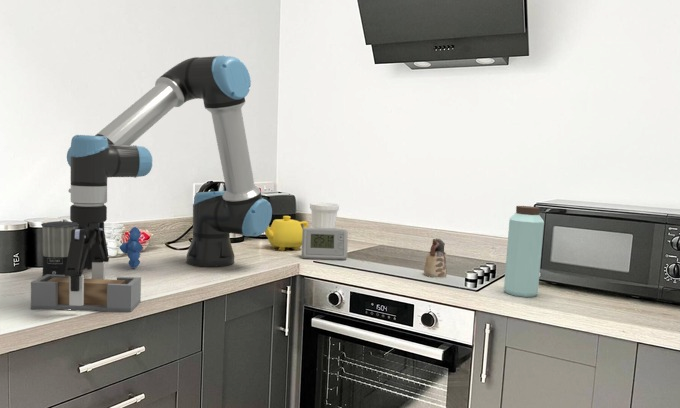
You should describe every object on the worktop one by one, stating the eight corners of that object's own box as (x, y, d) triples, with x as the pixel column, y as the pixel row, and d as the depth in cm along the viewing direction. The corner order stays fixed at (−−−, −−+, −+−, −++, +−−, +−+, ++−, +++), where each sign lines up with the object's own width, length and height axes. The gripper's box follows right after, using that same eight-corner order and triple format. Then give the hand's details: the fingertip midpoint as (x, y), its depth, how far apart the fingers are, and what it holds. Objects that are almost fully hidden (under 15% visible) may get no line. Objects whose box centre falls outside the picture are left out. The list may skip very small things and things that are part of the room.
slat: (124, 301, 132) (125, 280, 131) (119, 305, 128) (119, 284, 127) (54, 298, 131) (54, 277, 130) (46, 303, 127) (46, 281, 126)
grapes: (119, 263, 175) (120, 224, 174) (143, 262, 177) (143, 224, 176) (117, 271, 164) (118, 230, 163) (142, 271, 166) (143, 230, 165)
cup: (326, 243, 230) (328, 206, 229) (302, 239, 237) (303, 203, 236) (343, 240, 241) (345, 204, 239) (319, 236, 247) (320, 202, 246)
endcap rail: (140, 302, 134) (140, 277, 134) (130, 311, 126) (131, 285, 126) (46, 299, 132) (46, 274, 132) (30, 309, 124) (30, 282, 124)
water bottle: (497, 288, 168) (504, 204, 165) (529, 289, 168) (537, 206, 166) (510, 297, 158) (517, 208, 155) (544, 298, 158) (552, 209, 156)
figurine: (450, 276, 181) (453, 239, 180) (437, 279, 176) (440, 240, 175) (432, 272, 186) (435, 236, 185) (419, 274, 181) (421, 237, 180)
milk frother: (39, 281, 148) (39, 225, 147) (44, 268, 163) (44, 217, 161) (98, 279, 154) (98, 225, 152) (98, 267, 168) (99, 217, 167)
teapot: (252, 246, 215) (253, 214, 214) (299, 244, 226) (300, 213, 224) (266, 253, 204) (267, 218, 203) (315, 250, 214) (316, 218, 213)
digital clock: (299, 259, 196) (300, 228, 195) (303, 254, 205) (305, 225, 204) (346, 262, 195) (347, 231, 194) (348, 257, 204) (349, 228, 203)
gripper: (91, 198, 139) (90, 283, 141) (47, 209, 114) (47, 312, 116) (122, 199, 140) (121, 284, 142) (85, 211, 115) (84, 313, 117)
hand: (87, 296), depth 129 cm, fingers open, 13 cm apart
